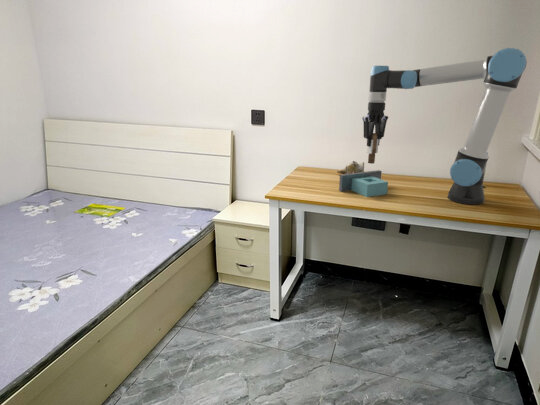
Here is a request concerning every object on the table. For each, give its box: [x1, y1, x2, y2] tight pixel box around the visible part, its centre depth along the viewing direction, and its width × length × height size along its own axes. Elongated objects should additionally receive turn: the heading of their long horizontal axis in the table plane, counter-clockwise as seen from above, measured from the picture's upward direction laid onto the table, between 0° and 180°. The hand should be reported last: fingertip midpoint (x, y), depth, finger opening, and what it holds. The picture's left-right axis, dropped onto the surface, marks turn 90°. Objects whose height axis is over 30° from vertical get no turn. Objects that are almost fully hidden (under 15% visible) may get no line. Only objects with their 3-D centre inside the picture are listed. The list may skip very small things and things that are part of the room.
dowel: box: [367, 132, 377, 164], centre depth 185 cm, size 3×3×14 cm
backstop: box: [338, 169, 382, 193], centre depth 196 cm, size 2×24×8 cm, turn 115°
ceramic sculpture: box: [336, 160, 365, 175], centre depth 221 cm, size 11×9×15 cm
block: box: [350, 176, 389, 198], centre depth 191 cm, size 12×12×6 cm
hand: (372, 152), depth 186 cm, fingers closed on dowel, 2 cm apart
